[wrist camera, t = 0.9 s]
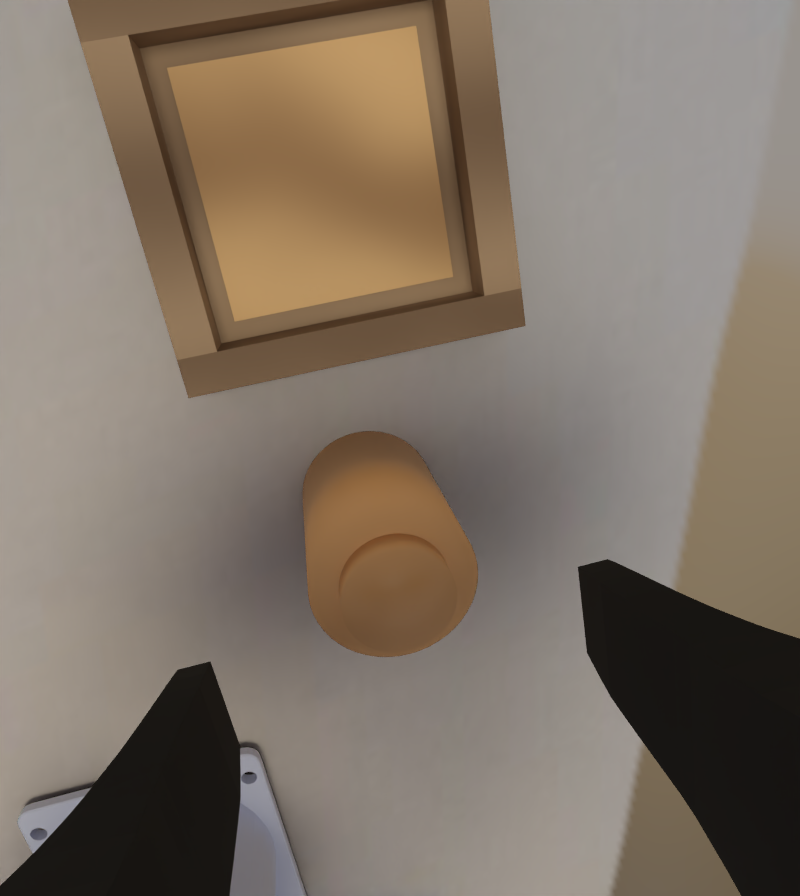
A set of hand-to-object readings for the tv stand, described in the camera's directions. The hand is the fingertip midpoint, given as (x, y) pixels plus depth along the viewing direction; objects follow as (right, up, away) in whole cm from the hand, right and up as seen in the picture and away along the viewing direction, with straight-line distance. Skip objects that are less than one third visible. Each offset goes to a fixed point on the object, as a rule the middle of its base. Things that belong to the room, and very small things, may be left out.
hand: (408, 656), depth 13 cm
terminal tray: (-2, +11, +5) cm, 12 cm away
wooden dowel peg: (-1, +3, +8) cm, 8 cm away
